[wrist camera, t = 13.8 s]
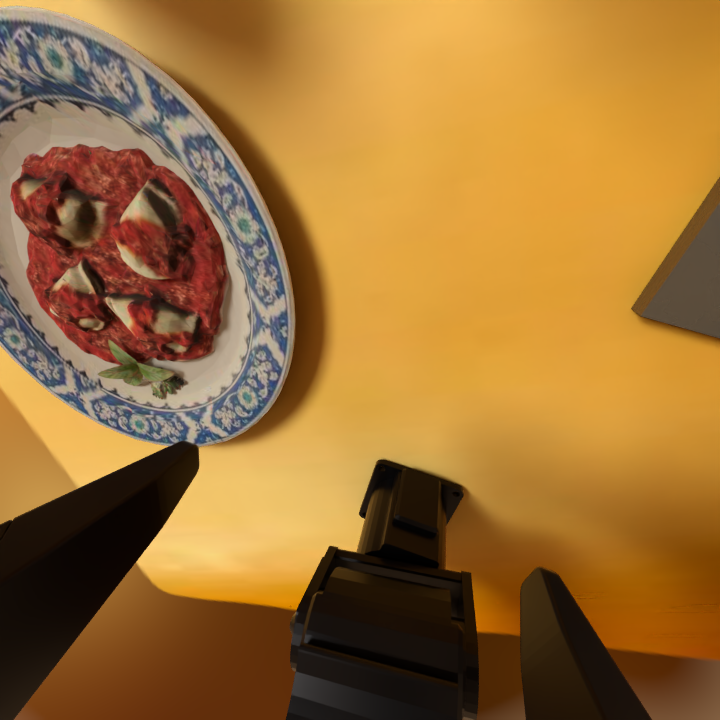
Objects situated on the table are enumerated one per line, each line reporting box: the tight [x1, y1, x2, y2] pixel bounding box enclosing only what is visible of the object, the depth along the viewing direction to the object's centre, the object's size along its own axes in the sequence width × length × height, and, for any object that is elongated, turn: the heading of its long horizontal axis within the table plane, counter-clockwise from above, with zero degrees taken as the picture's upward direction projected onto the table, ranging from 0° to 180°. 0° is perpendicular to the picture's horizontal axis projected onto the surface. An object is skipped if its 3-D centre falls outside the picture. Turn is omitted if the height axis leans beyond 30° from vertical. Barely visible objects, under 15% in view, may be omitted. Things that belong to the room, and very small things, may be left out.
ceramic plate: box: [0, 6, 296, 447], centre depth 22 cm, size 26×26×3 cm
